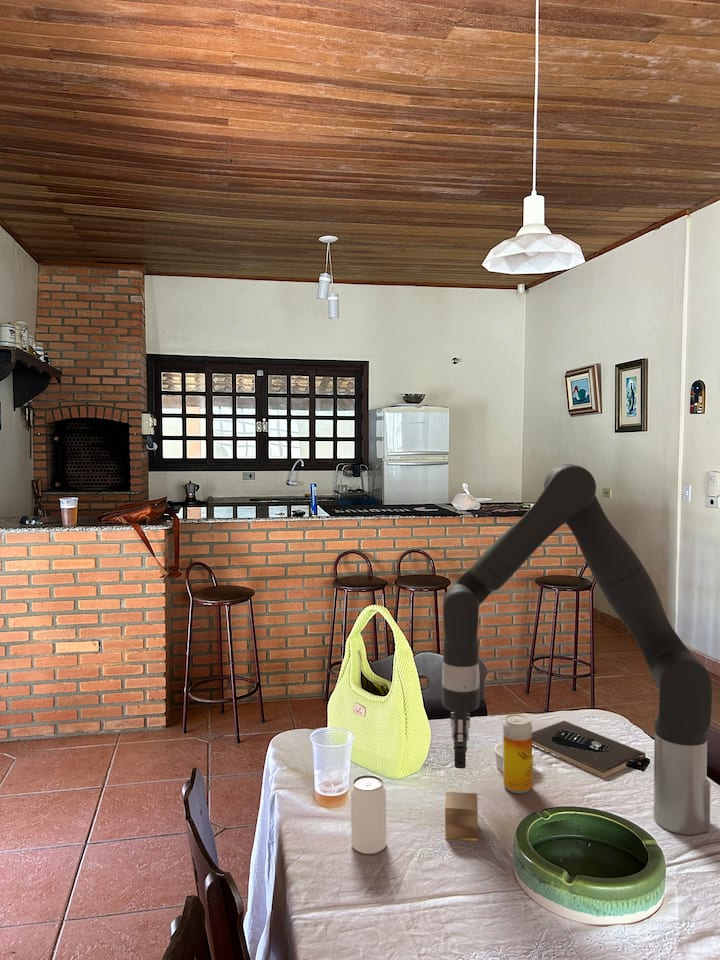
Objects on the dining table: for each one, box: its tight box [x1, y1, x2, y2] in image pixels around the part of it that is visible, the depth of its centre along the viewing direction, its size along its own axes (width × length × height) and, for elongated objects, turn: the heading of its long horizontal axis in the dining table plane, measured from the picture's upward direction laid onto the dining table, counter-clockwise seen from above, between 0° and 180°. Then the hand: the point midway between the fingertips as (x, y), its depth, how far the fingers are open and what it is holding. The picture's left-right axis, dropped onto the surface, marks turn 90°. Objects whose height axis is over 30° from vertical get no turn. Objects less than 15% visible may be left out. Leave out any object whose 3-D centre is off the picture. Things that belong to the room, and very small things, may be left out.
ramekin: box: [494, 742, 535, 773], centre depth 156 cm, size 9×9×4 cm
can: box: [350, 774, 387, 856], centre depth 126 cm, size 6×6×12 cm
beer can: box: [502, 714, 533, 794], centre depth 147 cm, size 6×6×15 cm
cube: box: [444, 791, 479, 842], centre depth 131 cm, size 6×6×6 cm
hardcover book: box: [532, 720, 646, 779], centre depth 164 cm, size 16×23×2 cm
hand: (460, 766), depth 140 cm, fingers closed
